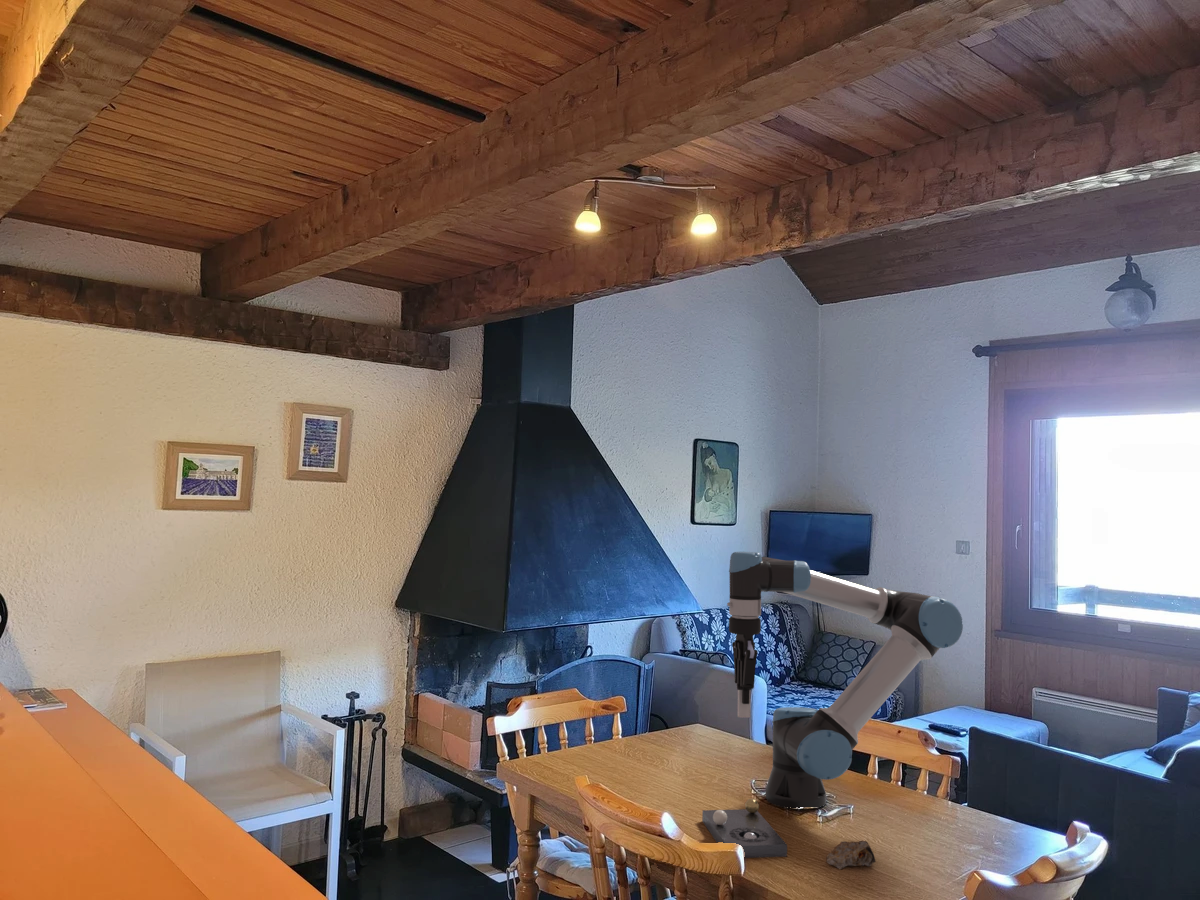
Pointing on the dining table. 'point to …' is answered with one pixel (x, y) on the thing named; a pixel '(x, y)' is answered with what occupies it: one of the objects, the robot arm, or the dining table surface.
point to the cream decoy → (720, 817)
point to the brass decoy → (752, 806)
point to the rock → (851, 854)
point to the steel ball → (750, 835)
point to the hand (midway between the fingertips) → (743, 716)
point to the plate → (742, 823)
